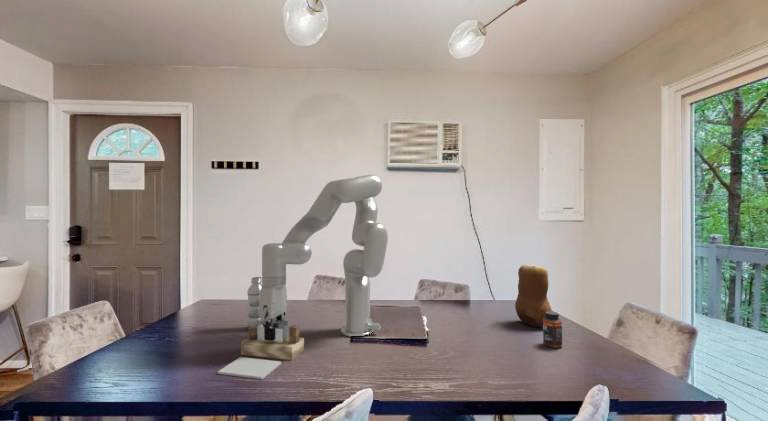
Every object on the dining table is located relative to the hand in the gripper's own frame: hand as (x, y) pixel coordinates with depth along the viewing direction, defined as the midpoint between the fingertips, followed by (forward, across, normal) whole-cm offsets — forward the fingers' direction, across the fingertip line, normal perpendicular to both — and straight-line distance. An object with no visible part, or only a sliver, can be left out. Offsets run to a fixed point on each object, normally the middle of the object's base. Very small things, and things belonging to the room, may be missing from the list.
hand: (274, 336), depth 109 cm
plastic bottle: (+5, -19, -19) cm, 27 cm away
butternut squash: (+7, -50, +89) cm, 102 cm away
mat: (+5, +12, 0) cm, 13 cm away
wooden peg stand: (+5, 0, 0) cm, 5 cm away
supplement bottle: (+6, -28, +91) cm, 95 cm away
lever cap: (+1, 0, 0) cm, 1 cm away
